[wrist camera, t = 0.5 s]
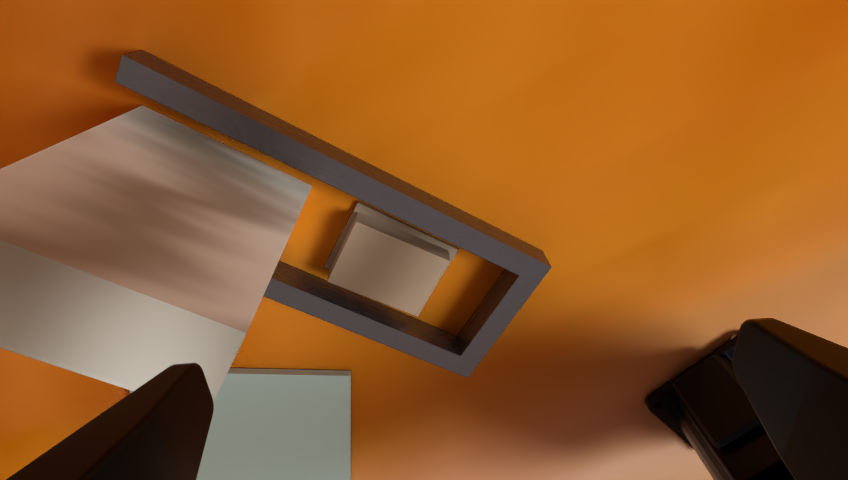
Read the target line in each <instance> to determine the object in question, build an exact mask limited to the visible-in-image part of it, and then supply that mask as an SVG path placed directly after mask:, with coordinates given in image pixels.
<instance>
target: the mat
mask: <svg viewBox="0 0 848 480" xmlns="http://www.w3.org/2000/svg"><path fill="white" fill-rule="evenodd" d="M129 391H130V393H132V392H133V391H131V390H129ZM213 403H214V411H213V416H212V420H211V424H210V428H209V432H208V436H207V440H206V444H205V447H204V451H203V455H202V459H201V463H200V467H199V471H198V475H197V479H196V480H351V371H349V370H302V369H255V368H230V369H229V371H228V373H227V375H226V377H225V379H224V381H223V383H222V385H221V387H220V389H219V391H218V393H217V395H216V398H215V400H214V402H213Z"/></svg>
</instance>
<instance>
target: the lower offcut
mask: <svg viewBox="0 0 848 480" xmlns="http://www.w3.org/2000/svg"><path fill="white" fill-rule="evenodd" d="M358 212H360V213H362V214H364V215H367V216H369V217H371V218H374V219H376V220H379V221H381V222H383V223H386V224H388V225H390V226H392V227H395V228H397V229H399V230H402V231H404V232H406V233H409V234H411V235H413V236H416V237H418V238H420V239H423V240H425V241H427V242H430V243H432V244H434V245H437V246H439V247H441V248H444V249H446V250H448V251H449V256H450V263H451V261H452V260H453V258H454V257H455V255H456V254H457V252H458V251H459V249H458V248H457V247H455V246H453V245H450V244H448V243H446V242H444V241H442V240H440V239H438V238H436V237H434V236H432V235H429V234H427V233H425V232H423V231H421V230H419V229H417V228H415V227H413V226H411V225H409V224H406V223H404V222H402V221H400V220H398V219H396V218H394V217H392V216H390V215H388V214H385V213H383V212H381V211H379V210H377V209H375V208H373V207H371V206H369V205H367V204H365V203H362V202H360V201H358V203H357V204H356V206H355V208H354V210H353V212H352V214H351V216H350V218H349V220H348V221H347V223H346V225H345V227H344V229H343V231H342V233H341V235H340V237H339V239H338V240H337V242H336V244H335V246H334V248H333V250H332V252H331V254H330V256H329V257H328V259H327V261H326V263H325V265H324V268H326V269H328V270H331V267H332V265H333V263H334V261H335V259H336V257H337V255H338V253H339V251H340V249H341V247H342V244H343V242H344V240H345V238H346V236H347V234H348V232H349V230H350V228H351V226H352V223H353V221H354V219H355V217H356V215H357V213H358ZM450 263H449V264H450ZM448 266H449V265H448ZM448 266H447V267H448ZM446 269H447V268H446ZM445 271H446V270H445ZM445 271H444V272H445ZM443 274H444V273H443Z"/></svg>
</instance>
